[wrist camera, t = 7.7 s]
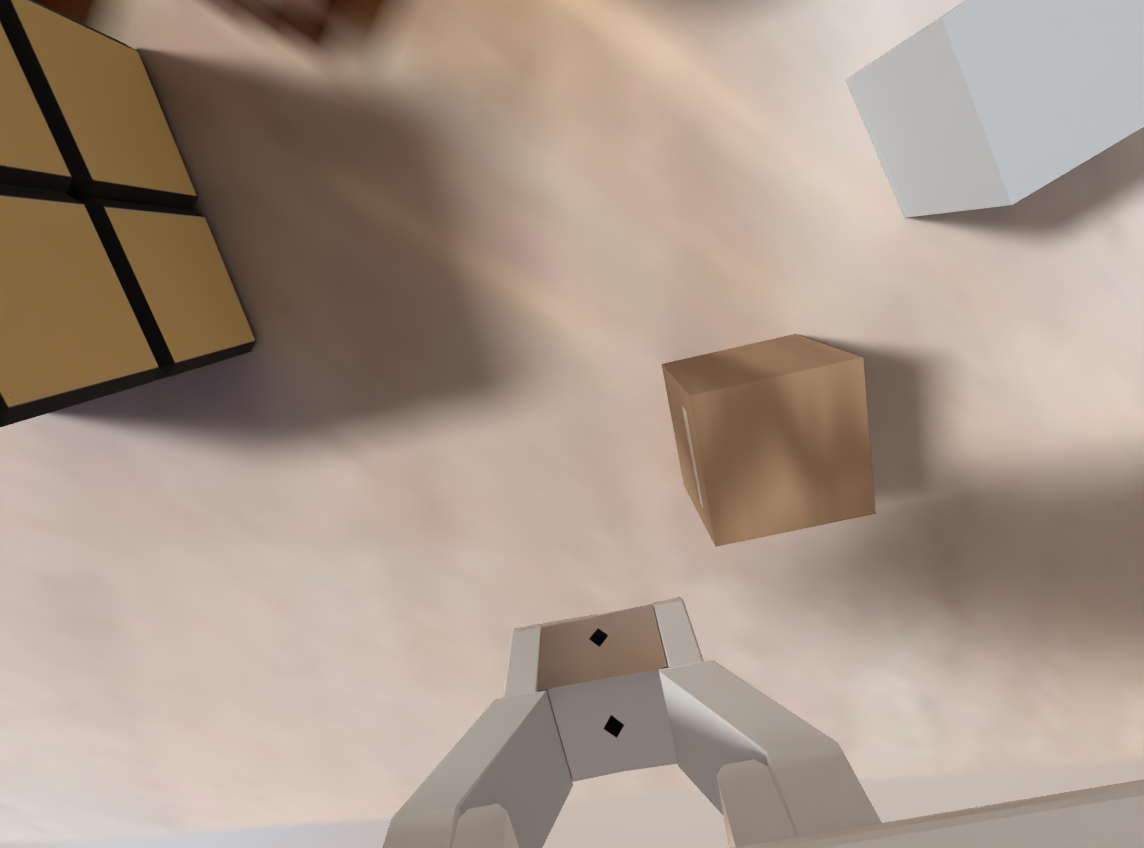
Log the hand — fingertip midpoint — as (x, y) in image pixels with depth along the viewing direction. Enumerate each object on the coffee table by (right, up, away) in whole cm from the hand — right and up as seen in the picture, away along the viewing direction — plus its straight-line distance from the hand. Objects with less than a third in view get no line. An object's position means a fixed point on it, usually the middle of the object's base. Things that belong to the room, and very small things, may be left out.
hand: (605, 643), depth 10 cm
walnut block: (+3, +3, +9) cm, 10 cm away
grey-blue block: (+12, +14, +9) cm, 21 cm away
